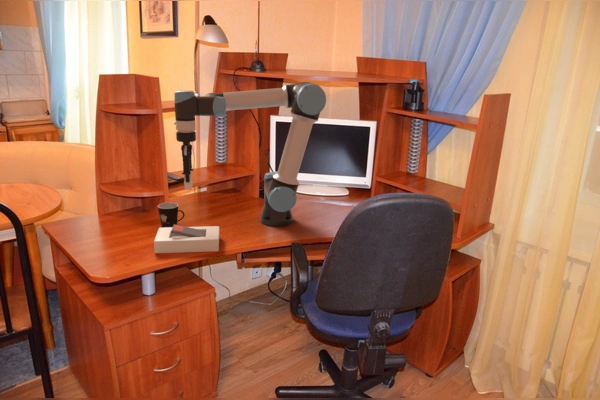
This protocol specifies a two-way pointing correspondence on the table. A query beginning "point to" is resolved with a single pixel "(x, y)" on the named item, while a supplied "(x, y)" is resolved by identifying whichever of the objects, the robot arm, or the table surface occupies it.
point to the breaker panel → (186, 241)
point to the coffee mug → (169, 214)
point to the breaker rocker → (187, 231)
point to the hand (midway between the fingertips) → (188, 187)
